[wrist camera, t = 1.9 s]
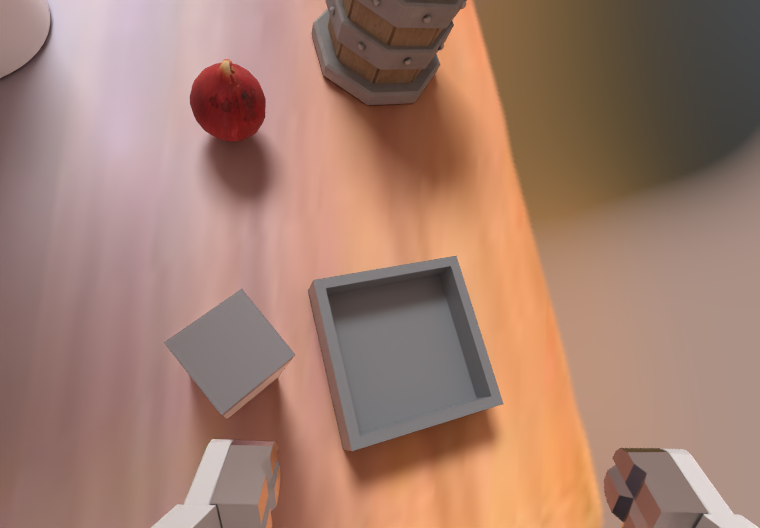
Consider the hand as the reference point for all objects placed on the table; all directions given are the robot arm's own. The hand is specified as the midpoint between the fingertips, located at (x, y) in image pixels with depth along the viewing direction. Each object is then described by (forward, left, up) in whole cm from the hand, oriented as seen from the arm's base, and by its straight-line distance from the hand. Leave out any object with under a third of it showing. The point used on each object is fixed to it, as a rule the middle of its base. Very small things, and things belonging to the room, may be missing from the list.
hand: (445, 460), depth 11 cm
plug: (-4, +6, -25) cm, 26 cm away
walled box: (+9, +5, -25) cm, 27 cm away
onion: (-1, +27, -25) cm, 37 cm away
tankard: (+15, +39, -25) cm, 49 cm away
